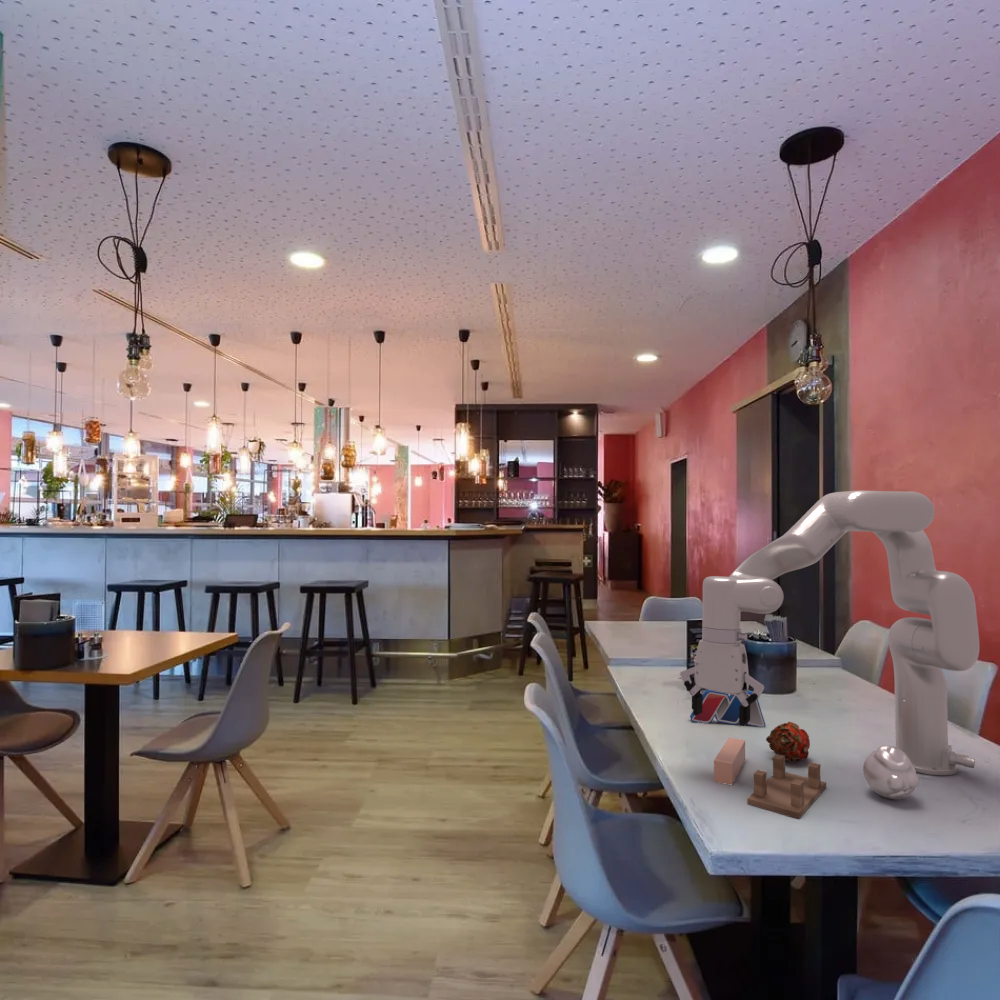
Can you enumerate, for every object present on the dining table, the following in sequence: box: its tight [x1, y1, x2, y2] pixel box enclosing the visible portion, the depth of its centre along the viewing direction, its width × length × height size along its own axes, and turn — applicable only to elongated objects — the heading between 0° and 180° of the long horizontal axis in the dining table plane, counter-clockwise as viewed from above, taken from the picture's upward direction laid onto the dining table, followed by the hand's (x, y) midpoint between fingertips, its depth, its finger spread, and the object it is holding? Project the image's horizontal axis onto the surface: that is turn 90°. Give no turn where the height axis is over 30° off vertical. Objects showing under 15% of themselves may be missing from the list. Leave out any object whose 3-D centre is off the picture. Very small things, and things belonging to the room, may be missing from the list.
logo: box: [689, 689, 767, 728], centre depth 164 cm, size 18×2×10 cm, turn 78°
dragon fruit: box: [765, 721, 811, 763], centre depth 139 cm, size 8×8×12 cm
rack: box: [746, 754, 827, 820], centre depth 120 cm, size 18×9×5 cm, turn 139°
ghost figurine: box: [862, 744, 920, 800], centre depth 119 cm, size 9×10×10 cm
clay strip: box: [713, 737, 746, 785], centre depth 132 cm, size 16×4×4 cm, turn 150°
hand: (720, 719), depth 129 cm, fingers open, 9 cm apart
